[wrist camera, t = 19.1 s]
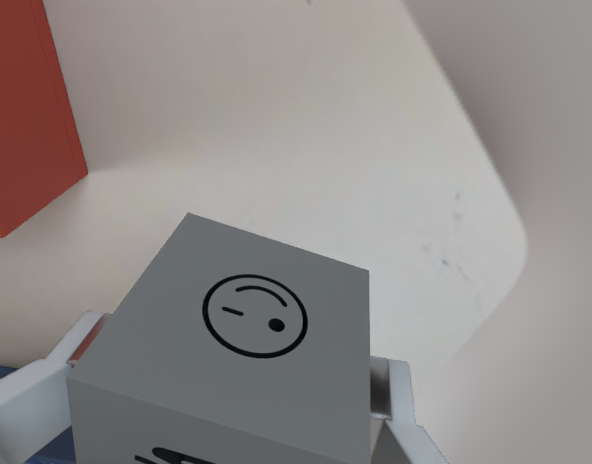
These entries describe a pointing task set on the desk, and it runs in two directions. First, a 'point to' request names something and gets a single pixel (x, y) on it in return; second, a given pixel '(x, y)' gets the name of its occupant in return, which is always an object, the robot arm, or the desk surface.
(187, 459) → the dice cube
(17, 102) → the red bin
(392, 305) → the desk surface
